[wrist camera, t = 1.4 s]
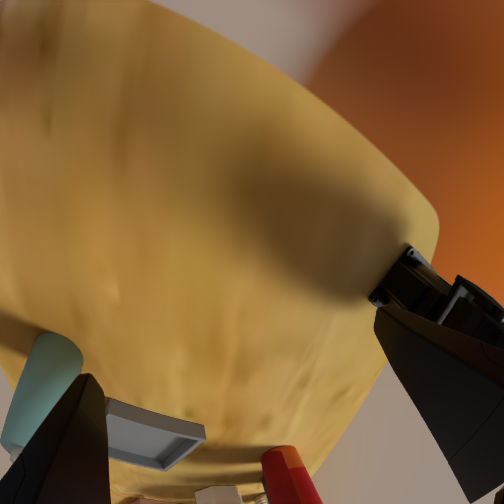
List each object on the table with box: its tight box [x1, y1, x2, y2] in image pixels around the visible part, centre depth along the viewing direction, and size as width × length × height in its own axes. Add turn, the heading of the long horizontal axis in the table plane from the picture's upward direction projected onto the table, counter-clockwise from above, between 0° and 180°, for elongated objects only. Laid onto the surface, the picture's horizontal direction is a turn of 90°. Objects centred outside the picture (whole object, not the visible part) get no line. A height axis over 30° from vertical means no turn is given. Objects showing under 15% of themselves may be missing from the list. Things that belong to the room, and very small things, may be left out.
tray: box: [105, 398, 206, 471], centre depth 28 cm, size 11×11×2 cm
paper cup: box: [261, 446, 323, 504], centre depth 31 cm, size 8×8×14 cm
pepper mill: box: [0, 333, 83, 463], centre depth 16 cm, size 5×5×12 cm
